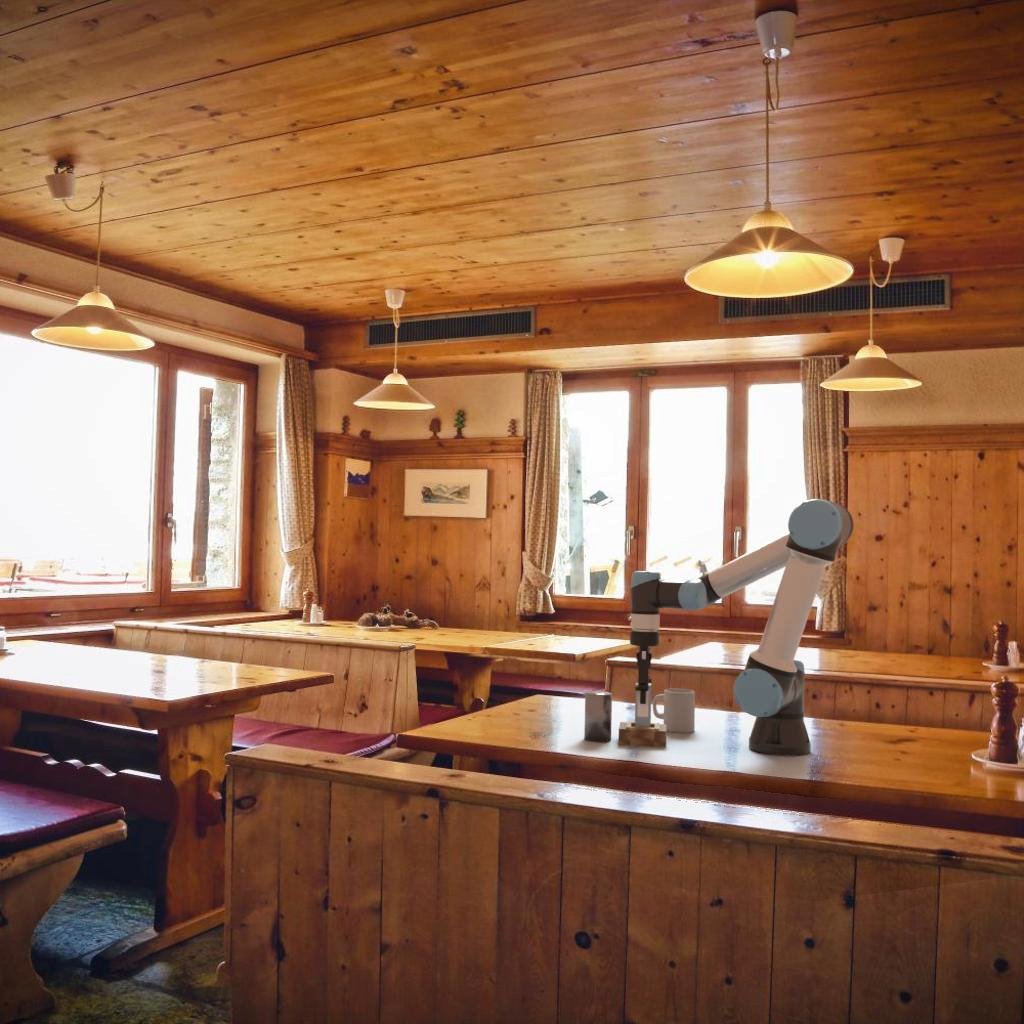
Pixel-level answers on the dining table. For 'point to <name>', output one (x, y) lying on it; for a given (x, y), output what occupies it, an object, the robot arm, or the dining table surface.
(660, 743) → the socket block
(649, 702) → the square bit
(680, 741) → the dining table surface
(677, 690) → the mug
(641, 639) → the robot arm
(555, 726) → the dining table surface
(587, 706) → the grey storage canister
